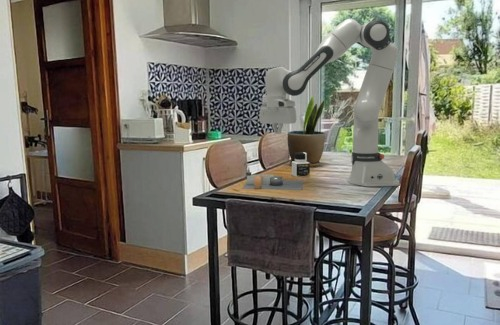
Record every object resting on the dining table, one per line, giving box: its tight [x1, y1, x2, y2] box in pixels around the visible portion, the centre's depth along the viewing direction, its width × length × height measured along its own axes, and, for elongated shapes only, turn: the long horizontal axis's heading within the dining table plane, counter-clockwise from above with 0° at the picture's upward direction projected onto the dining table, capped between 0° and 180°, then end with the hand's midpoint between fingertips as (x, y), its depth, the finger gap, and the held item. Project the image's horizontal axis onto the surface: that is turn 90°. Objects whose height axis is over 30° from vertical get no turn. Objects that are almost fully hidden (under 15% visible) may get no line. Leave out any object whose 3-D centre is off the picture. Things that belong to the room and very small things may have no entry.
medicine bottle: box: [291, 152, 311, 178], centre depth 216 cm, size 7×7×12 cm
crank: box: [245, 171, 284, 185], centre depth 192 cm, size 16×6×5 cm, turn 85°
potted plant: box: [287, 95, 326, 168], centre depth 245 cm, size 21×22×40 cm
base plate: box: [241, 176, 304, 191], centre depth 192 cm, size 26×20×6 cm
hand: (277, 133), depth 196 cm, fingers closed
